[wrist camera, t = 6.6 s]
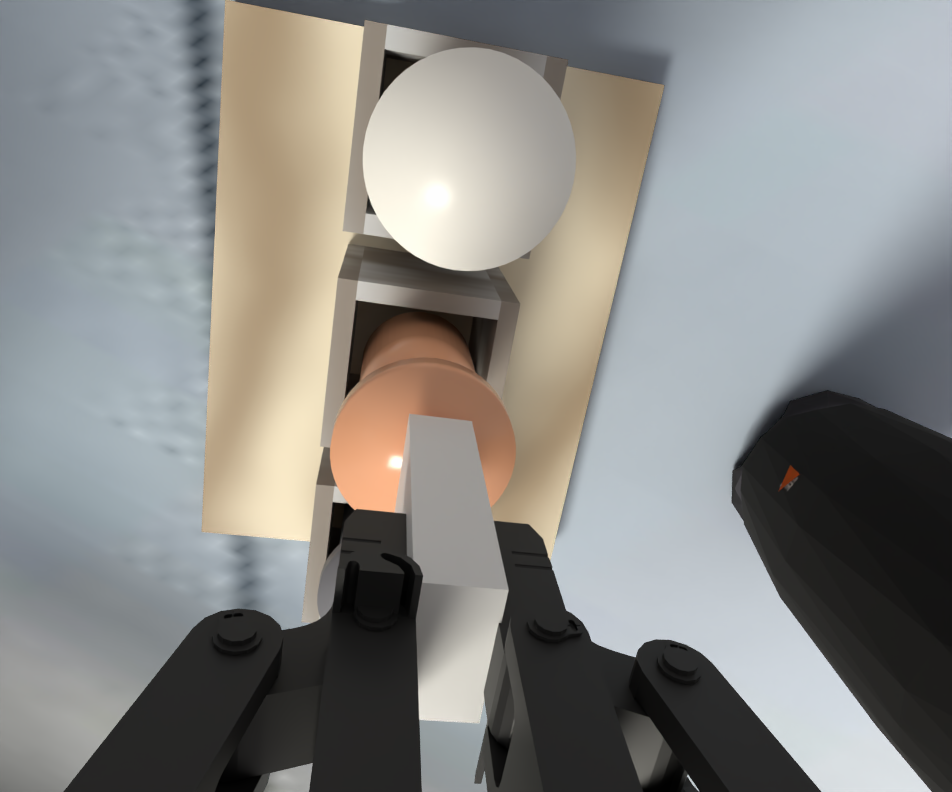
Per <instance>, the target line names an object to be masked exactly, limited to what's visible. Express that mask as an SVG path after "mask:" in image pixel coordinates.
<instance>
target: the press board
mask: <svg viewBox="0 0 952 792" xmlns="http://www.w3.org/2000/svg"><path fill="white" fill-rule="evenodd" d="M467 47H476V48H485V49H491V50H495V51H498V52H502V53H505V54H507V55H510V56H512V57H514V58H517V59H518V60H520V61H522V62H523V63H525V64H526V65H528V66H530V67H531V68H532V69H533V70H535V71H536V72H537V73H538V74H539V75H541V76H542V77H543V78H544V80H545V81H546V82H547V83H548V84H549V85H550V86H551V87H552V89H553V90H554V92H555V93H556V94H557V96H558V97H559V99H560V101H561V103H562V104H563V106H564V108H565V110H566V112H567V115H568V118H569V120H570V123H571V126H572V131H573V135H574V139H575V149H576V170H575V177H574V183H573V187H572V190H571V194H570V197H569V200H568V202H567V205H566V207H565V209H564V211H563V213H562V215H561V217H560V218H559V220H558V222H557V223H556V225H555V226H554V227H553V229H552V230H551V231H550V233H549V234H548V235H547V236H546V237H545V238H544V239H543V240H542V241H541V242H540V243H539V244H538V245H537V246H535V247H534V248H533V249H532V250H531V251H529V252H528V253H526V254H524V255H523V256H521V257H520V258H518V259H516V260H514V261H512V262H509V263H507V264H505V265H502V266H498V267H495V268H491V269H486V270H479V271H460V270H452V269H447V268H442V267H439V266H436V265H433V264H430V263H428V262H426V261H424V260H422V259H420V258H418V257H416V256H415V255H413V254H412V253H410V252H409V251H407V250H406V249H405V248H403V247H402V246H401V245H400V244H399V243H398V242H397V241H396V240H395V239H394V238H393V237H392V236H391V235H390V234H389V232H388V231H387V230H386V229H385V227H384V226H383V224H382V223H381V221H380V220H379V218H378V217H377V215H376V213H375V211H374V209H373V207H372V205H371V202H370V199H369V196H368V193H367V190H366V185H365V180H364V173H363V145H364V140H365V134H366V130H367V127H368V124H369V120H370V117H371V115H372V113H373V111H374V109H375V107H376V104H377V103H378V101H379V100H380V98H381V96H382V95H383V93H384V92H385V90H386V89H387V88H388V87H389V86H390V84H391V83H392V82H393V81H394V80H395V79H396V78H397V77H398V76H399V75H400V74H401V73H402V72H404V71H405V70H406V69H407V68H409V67H410V66H412V65H413V64H415V63H416V62H418V61H420V60H422V59H424V58H426V57H428V56H430V55H432V54H435V53H438V52H441V51H444V50H449V49H455V48H467ZM567 64H568V60H567V59H562V58H557V57H552V56H547V55H541V54H536V53H531V52H526V51H521V50H516V49H511V48H506V47H501V46H495V45H490V44H485V43H480V42H475V41H470V40H465V39H460V38H455V37H450V36H444V35H439V34H434V33H429V32H424V31H419V30H414V29H409V28H404V27H398V26H393V25H388V24H383V23H378V22H373V21H368V20H365V22H364V27H363V26H358V25H353V24H347V23H342V22H337V21H332V20H327V19H322V18H317V17H311V16H306V15H301V14H296V13H291V12H286V11H281V10H275V9H270V8H265V7H260V6H255V5H250V4H245V3H239V2H234V1H229V0H225V19H224V42H223V64H222V87H221V109H220V132H219V154H218V176H217V199H216V221H215V244H214V266H213V289H212V311H211V333H210V356H209V378H208V401H207V423H206V445H205V468H204V490H203V513H202V532H209V533H221V534H232V535H243V536H254V537H266V538H277V539H288V540H300V541H310V547H309V557H308V566H307V576H306V585H305V595H304V604H303V614H302V622H306V623H313V622H315V621H317V620H319V619H320V615H319V612H318V606H317V594H318V588H319V581H320V576H321V572H322V569H323V566H324V564H325V562H326V560H327V558H328V557H329V556H330V554H331V553H332V551H333V550H334V549H335V548H336V547H337V546H338V545H339V544H340V537H341V529H342V521H343V513H344V505H345V503H348V502H347V501H346V500H345V498H344V497H343V495H342V494H341V492H340V490H339V489H338V487H337V484H336V482H335V480H334V477H333V473H332V469H331V462H330V445H331V439H332V434H333V428H334V423H335V419H336V416H337V413H338V411H339V409H340V407H341V405H342V403H343V401H344V399H345V398H346V397H347V395H348V394H349V392H350V391H351V390H352V389H353V388H354V387H355V386H356V385H357V383H358V382H359V380H360V372H361V364H362V357H363V351H364V348H365V345H366V343H367V341H368V339H369V337H370V336H371V334H372V333H373V332H374V331H375V330H376V328H377V327H378V326H380V325H381V324H382V323H383V322H385V321H386V320H388V319H390V318H392V317H394V316H396V315H399V314H402V313H407V312H426V313H431V314H434V315H437V316H440V317H442V318H444V319H446V320H447V321H449V322H450V323H452V324H453V325H454V326H455V327H456V328H457V329H458V330H459V331H460V333H461V334H462V335H463V337H464V338H465V340H466V343H467V345H468V348H469V351H470V354H471V358H472V361H473V365H474V368H475V372H476V373H477V374H478V375H480V376H481V377H482V378H483V379H484V380H486V381H487V382H488V383H489V384H490V385H491V386H492V388H493V389H494V390H495V391H496V392H497V394H498V395H499V397H500V398H501V400H502V402H503V404H504V406H505V408H506V410H507V413H508V416H509V419H510V422H511V425H512V428H513V431H514V436H515V442H516V458H515V465H514V469H513V472H512V476H511V478H510V481H509V483H508V485H507V487H506V489H505V490H504V492H503V494H502V495H501V496H500V498H499V499H498V500H497V501H496V503H495V504H494V505H493V506H492V507H491V511H492V516H493V520H494V521H503V522H513V523H523V524H529V525H530V526H531V527H532V528H533V529H534V530H535V531H536V532H537V533H538V534H539V535H540V536H541V537H542V538H543V540H544V543H545V546H546V549H547V553H548V558H549V559H550V560H551V555H552V551H553V547H554V543H555V539H556V535H557V530H558V526H559V522H560V518H561V514H562V510H563V505H564V501H565V497H566V493H567V489H568V485H569V481H570V476H571V472H572V468H573V464H574V460H575V456H576V451H577V447H578V443H579V439H580V435H581V431H582V426H583V422H584V418H585V414H586V410H587V406H588V401H589V397H590V393H591V389H592V385H593V381H594V376H595V372H596V368H597V364H598V360H599V356H600V352H601V347H602V343H603V339H604V335H605V331H606V327H607V322H608V318H609V314H610V310H611V306H612V302H613V297H614V293H615V289H616V285H617V281H618V277H619V272H620V268H621V264H622V260H623V256H624V252H625V248H626V243H627V239H628V235H629V231H630V227H631V223H632V218H633V214H634V210H635V206H636V202H637V198H638V193H639V189H640V185H641V181H642V177H643V173H644V168H645V164H646V160H647V156H648V152H649V148H650V144H651V139H652V135H653V131H654V127H655V123H656V119H657V114H658V110H659V106H660V102H661V98H662V94H663V89H664V85H661V84H656V83H651V82H646V81H641V80H635V79H630V78H625V77H620V76H615V75H610V74H605V73H599V72H594V71H589V70H584V69H579V68H574V67H569V66H567ZM348 504H349V503H348Z"/></svg>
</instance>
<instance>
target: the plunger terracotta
mask: <svg viewBox="0 0 952 792" xmlns="http://www.w3.org/2000/svg"><path fill="white" fill-rule="evenodd" d="M409 414H416V415H425V416H433V417H442V418H450V419H458V420H467V421H472V424H473V428H474V433H475V438H476V442H477V447H478V451H479V456H480V461H481V465H482V470H483V474H484V479H485V484H486V488H487V493H488V497H489V502H490V507H492V506H493V505H494V504H495V503H496V501H497V500H498V499H499V498H500V496H501V495H502V494H503V492H504V490H505V489H506V487H507V485H508V483H509V481H510V478H511V476H512V472H513V469H514V465H515V458H516V442H515V436H514V431H513V428H512V425H511V422H510V419H509V416H508V413H507V410H506V408H505V406H504V404H503V402H502V400H501V398H500V397H499V395H498V394H497V392H496V391H495V390H494V389H493V388H492V386H491V385H490V384H489V383H488V382H487V381H486V380H484V379H483V378H482V377H481V376H480V375H478V374H477V373H476V372H475V368H474V365H473V361H472V358H471V354H470V351H469V348H468V345H467V343H466V340H465V338H464V337H463V335H462V334H461V333H460V331H459V330H458V329H457V328H456V327H455V326H454V325H453V324H452V323H450V322H449V321H447V320H446V319H444V318H442V317H440V316H437V315H434V314H431V313H426V312H407V313H402V314H399V315H396V316H394V317H392V318H390V319H388V320H386V321H385V322H383V323H382V324H381V325H380V326H378V327H377V328H376V330H375V331H374V332H373V333H372V334H371V336H370V337H369V339H368V341H367V343H366V345H365V348H364V351H363V357H362V364H361V372H360V380H359V382H358V383H357V385H356V386H355V387H354V388H353V389H352V390H351V391H350V392H349V394H348V395H347V397H346V398H345V399H344V401H343V403H342V405H341V407H340V409H339V411H338V413H337V416H336V419H335V423H334V428H333V434H332V439H331V445H330V462H331V469H332V473H333V477H334V480H335V482H336V484H337V487H338V489H339V490H340V492H341V494H342V495H343V497H344V498H345V500H346V501H347V502H348V503H349V505H350V506H351V507H352V508H353V509H354V510H356V509H364V510H374V511H384V512H395V505H396V499H397V492H398V485H399V479H400V472H401V465H402V459H403V452H404V445H405V438H406V432H407V425H408V418H409Z"/></svg>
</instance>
